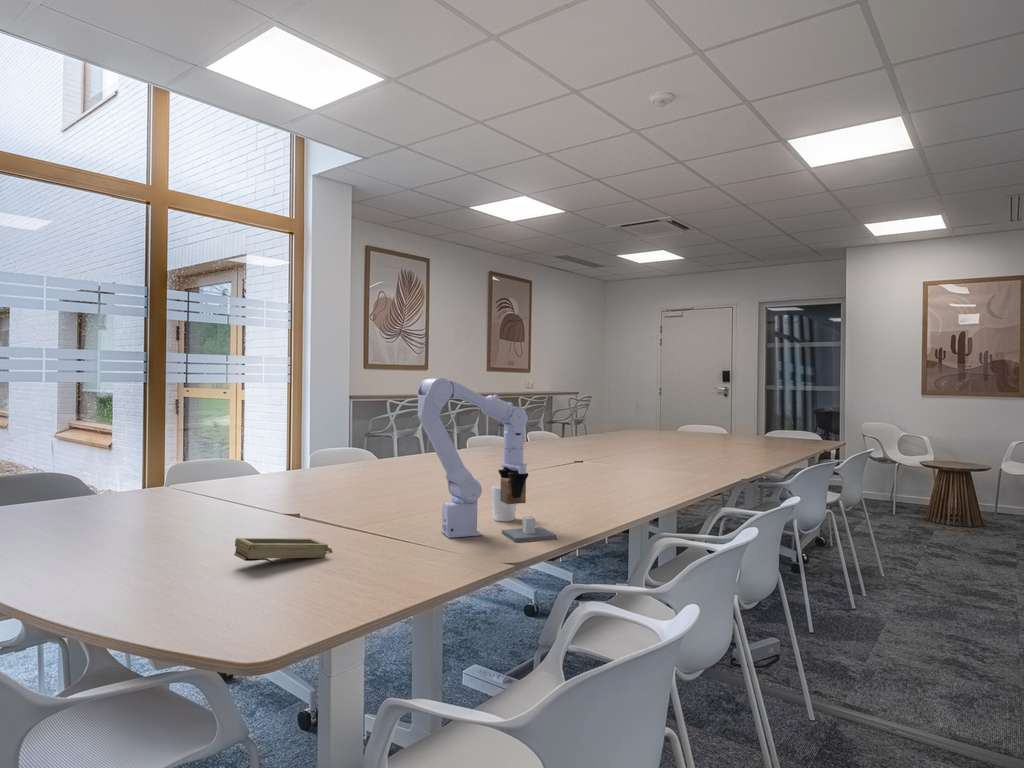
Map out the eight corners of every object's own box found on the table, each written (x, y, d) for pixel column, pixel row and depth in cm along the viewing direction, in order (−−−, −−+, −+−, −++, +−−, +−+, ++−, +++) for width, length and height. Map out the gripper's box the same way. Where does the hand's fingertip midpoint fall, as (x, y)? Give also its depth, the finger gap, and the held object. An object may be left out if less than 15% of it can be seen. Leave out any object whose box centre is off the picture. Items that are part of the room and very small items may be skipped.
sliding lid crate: (507, 504, 174) (507, 480, 174) (500, 500, 179) (500, 477, 179) (525, 503, 176) (525, 479, 176) (518, 499, 181) (518, 477, 181)
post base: (515, 542, 162) (515, 523, 162) (501, 533, 171) (502, 515, 171) (556, 538, 166) (556, 520, 166) (541, 530, 176) (541, 512, 176)
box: (229, 559, 137) (234, 537, 138) (320, 557, 153) (323, 537, 154) (246, 568, 131) (250, 544, 132) (338, 565, 148) (341, 544, 148)
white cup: (487, 521, 187) (488, 487, 187) (495, 515, 194) (496, 484, 194) (512, 523, 185) (513, 489, 185) (519, 517, 192) (520, 485, 192)
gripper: (536, 450, 172) (535, 499, 172) (517, 445, 186) (516, 490, 186) (512, 451, 170) (512, 500, 170) (494, 446, 183) (494, 491, 183)
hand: (512, 495), depth 178 cm, fingers closed on sliding lid crate, 6 cm apart
